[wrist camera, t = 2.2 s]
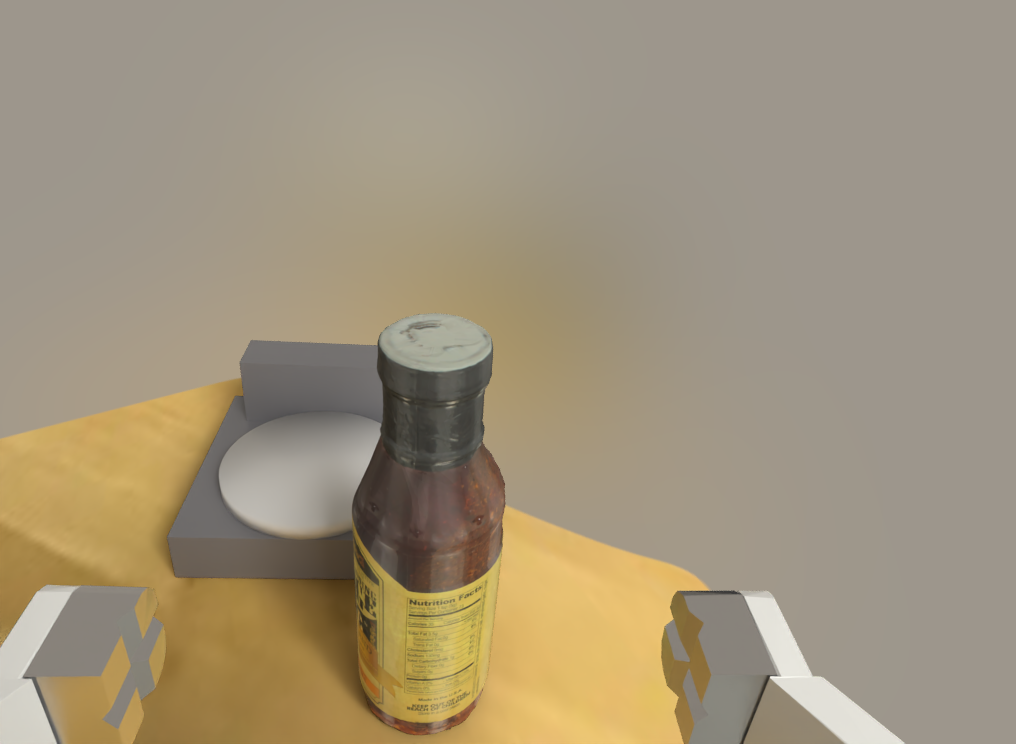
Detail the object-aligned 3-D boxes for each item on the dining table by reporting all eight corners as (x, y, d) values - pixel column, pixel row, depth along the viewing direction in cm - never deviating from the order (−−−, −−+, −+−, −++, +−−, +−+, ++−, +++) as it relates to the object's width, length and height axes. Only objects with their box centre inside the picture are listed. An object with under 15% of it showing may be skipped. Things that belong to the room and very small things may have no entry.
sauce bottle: (374, 628, 38) (368, 284, 28) (491, 640, 38) (527, 299, 28) (344, 745, 33) (322, 367, 23) (481, 759, 33) (520, 387, 23)
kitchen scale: (175, 577, 40) (152, 470, 37) (241, 428, 53) (229, 336, 49) (428, 580, 42) (432, 477, 38) (434, 433, 54) (438, 345, 50)
